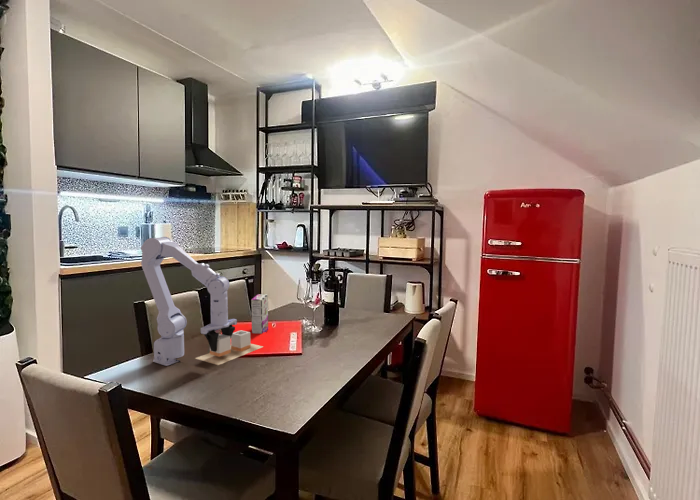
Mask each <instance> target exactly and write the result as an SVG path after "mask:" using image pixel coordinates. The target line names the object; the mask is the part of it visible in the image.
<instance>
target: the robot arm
mask: <svg viewBox="0 0 700 500" xmlns="http://www.w3.org/2000/svg"><path fill="white" fill-rule="evenodd" d="M140 250H141V253H142V255H141V268H142V270H143V273H144V276H145V279H146V282H147V284H148V287H149V289H150V292H151V295H152V297H153V300H154V302H155V305H156V308H157V311H158V314H157V317H156V323H157V332H158V334H159V335H160V337H159V338H158V339H156V340H155V341H154V342H153V360H152V363H153V362H154V363H156V364H159V365H162V366H165V367H166V366H170V365H173V364H176V363H178V362H179V363H180V362H181V360H180V359H178V358H182V357H183V356H185V335H184V333H185V332H184V329H185V328H186V326H187V325H188V321H187V317H186V316H185V315H184V314H183V313H182V311H181V310H180V308H178V307H177V306H175V303H174V301H173V298H172V297H173V296H172V295H171V292H170V290H169V286H168V284H167V282H166V279H165V275H164V273H163V271H162V268H161V264H162V262H163V260H164V259H165V258H166V257H167V258H173V259H174V260H176V261H177V262H179V263H180V264H181V265H182V266H184V267H186V268H187V269H189V270H190V272H191V276H192V277H193V278H195V280H197V281H198V282H200V283H201V284H202V285H204V286H205V287H206V289H207V293H209V295H210V323H209V324H207V325H205V326H203V327H200V334H202V335H204V337H205V338H206V340H207V343H208V344H209V350H210V349H211V351H214V352H216V350H217V339H218V335H219V334H220V333H219V332H216V330H220V331H221V334H223V335H227V336H230V340H231V336H232V334H233V333H234V332H235V330H236V327H235V326H236V325H237V324H238V320H237V318H230V319H229V310H228V309H229V307H228V303H229V302H228V301H229V300H228V290H229V289H230V285H231V284H230V281H229V279H228V278H227V277H226V276H223V275H220V273H218V272H215V270H213V269H212V268H210V264H208V263H204V262H201V263H198V262H197V260H196V259H194V258H193V257H192V256H191V255H190V254H188V253H187V251H185V250H184V249H183V248H181V247H180V246H179V244H178V243H177V242H176V241H174V240H172V239H171V238H170V237H167V236H162V237H150V238H147V239H146V240H144V242H143V243H142V245H141V247H140Z"/></svg>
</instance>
